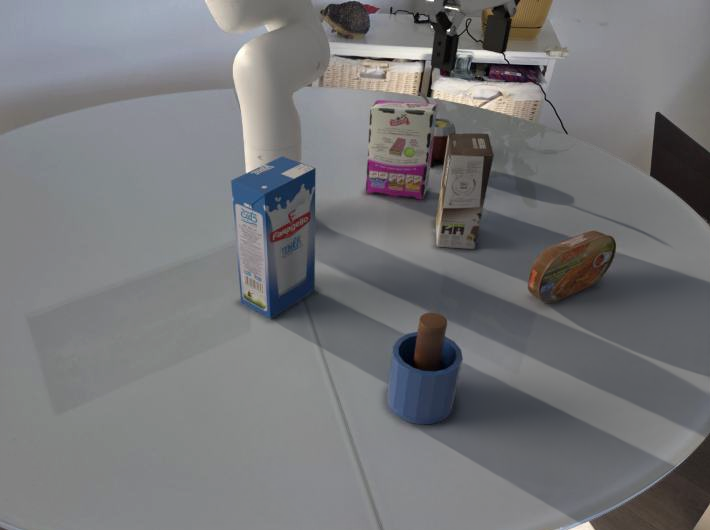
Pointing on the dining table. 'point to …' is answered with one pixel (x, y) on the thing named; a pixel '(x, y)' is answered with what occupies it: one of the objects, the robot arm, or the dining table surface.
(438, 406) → the cup
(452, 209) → the coffee box
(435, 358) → the dowel
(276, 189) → the milk carton
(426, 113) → the candy bar box
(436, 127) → the mate gourd
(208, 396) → the dining table surface
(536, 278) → the tin
